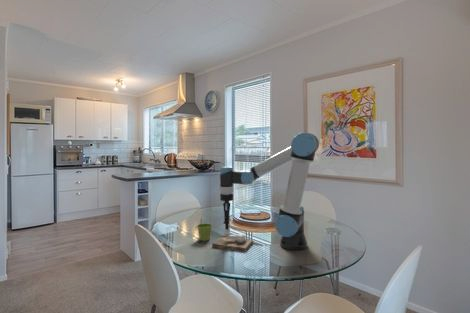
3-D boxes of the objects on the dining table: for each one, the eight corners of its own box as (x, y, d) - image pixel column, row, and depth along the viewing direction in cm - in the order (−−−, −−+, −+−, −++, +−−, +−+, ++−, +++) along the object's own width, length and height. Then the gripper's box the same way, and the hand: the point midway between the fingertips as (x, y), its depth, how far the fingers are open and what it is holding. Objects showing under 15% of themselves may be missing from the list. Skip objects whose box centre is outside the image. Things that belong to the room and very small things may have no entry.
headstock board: (253, 243, 159) (253, 239, 159) (244, 253, 145) (244, 248, 144) (222, 239, 166) (222, 235, 166) (210, 248, 152) (210, 244, 152)
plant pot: (198, 242, 161) (197, 228, 160) (196, 237, 170) (195, 224, 169) (213, 241, 163) (213, 227, 163) (210, 236, 172) (210, 222, 172)
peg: (245, 239, 159) (245, 220, 159) (245, 242, 154) (244, 223, 153) (221, 238, 161) (221, 220, 161) (219, 241, 156) (219, 222, 155)
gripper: (221, 191, 165) (221, 228, 166) (219, 196, 149) (219, 238, 150) (233, 190, 164) (234, 228, 165) (232, 196, 148) (233, 238, 149)
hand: (227, 233), depth 158 cm, fingers open, 3 cm apart
